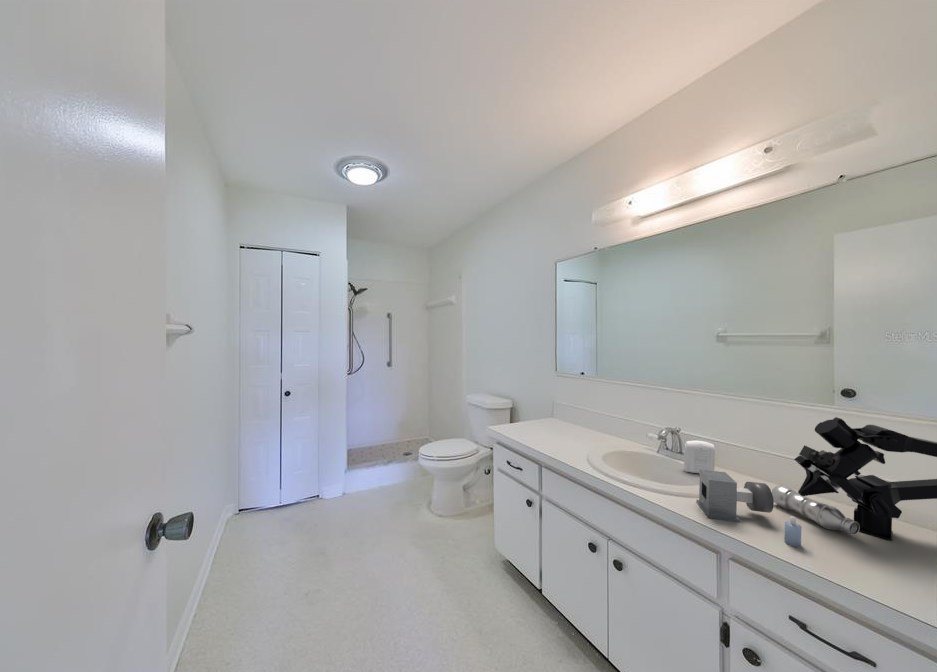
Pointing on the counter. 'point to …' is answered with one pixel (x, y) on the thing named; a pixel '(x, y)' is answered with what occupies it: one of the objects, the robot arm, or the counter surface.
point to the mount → (718, 495)
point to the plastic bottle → (814, 510)
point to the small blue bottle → (792, 533)
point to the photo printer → (698, 456)
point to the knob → (756, 496)
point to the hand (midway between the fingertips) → (800, 494)
